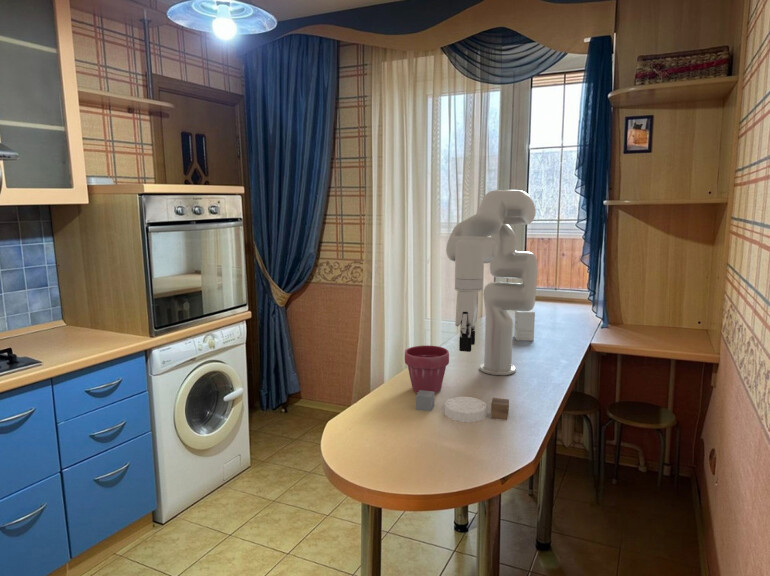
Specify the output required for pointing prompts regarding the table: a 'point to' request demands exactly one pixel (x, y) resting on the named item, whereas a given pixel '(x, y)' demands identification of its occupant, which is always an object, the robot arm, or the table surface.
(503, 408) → the walnut block
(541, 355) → the table surface
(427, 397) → the slate-grey block
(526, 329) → the supplement box
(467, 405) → the mooncake
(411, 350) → the plant pot
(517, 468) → the table surface
